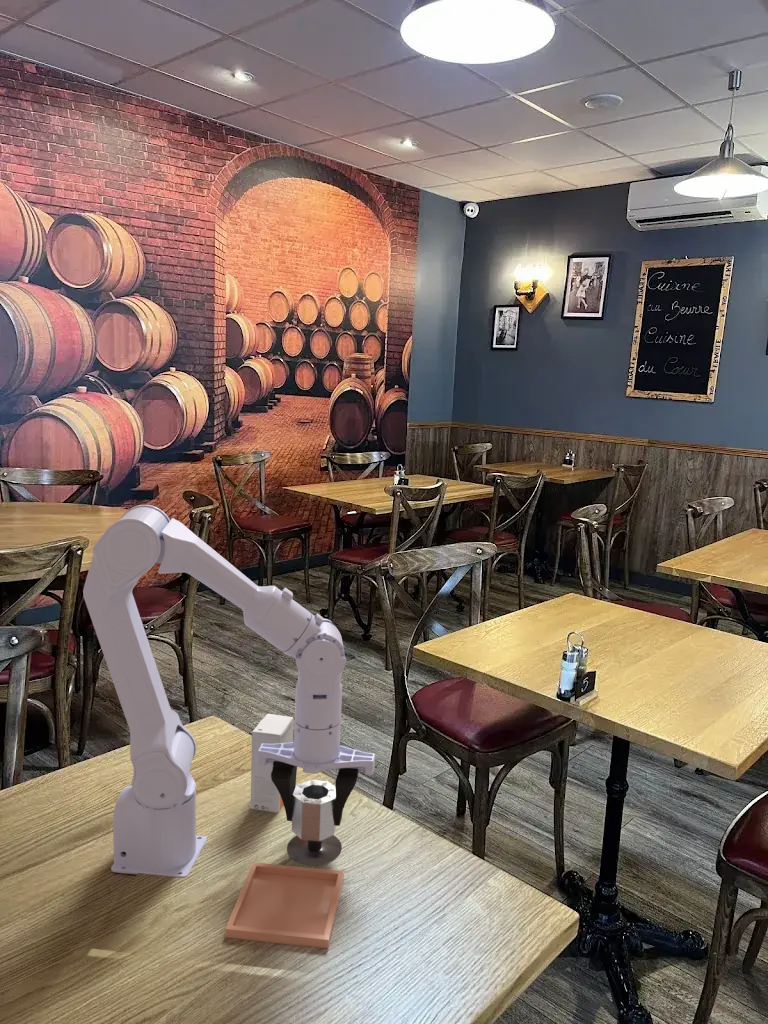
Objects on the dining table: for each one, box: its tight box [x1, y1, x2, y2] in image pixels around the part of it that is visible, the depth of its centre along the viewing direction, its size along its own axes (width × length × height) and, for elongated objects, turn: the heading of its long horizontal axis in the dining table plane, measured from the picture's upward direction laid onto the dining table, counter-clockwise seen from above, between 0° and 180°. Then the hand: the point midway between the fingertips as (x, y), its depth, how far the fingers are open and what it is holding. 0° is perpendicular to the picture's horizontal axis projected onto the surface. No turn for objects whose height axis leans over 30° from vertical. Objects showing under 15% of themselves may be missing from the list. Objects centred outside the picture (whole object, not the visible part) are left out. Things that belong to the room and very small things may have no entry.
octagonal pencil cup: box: [291, 779, 337, 841], centre depth 95 cm, size 5×5×5 cm
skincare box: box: [250, 713, 295, 814], centre depth 105 cm, size 6×4×12 cm
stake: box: [286, 834, 343, 866], centre depth 95 cm, size 7×7×6 cm
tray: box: [224, 861, 345, 950], centre depth 85 cm, size 11×11×2 cm
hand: (314, 818), depth 95 cm, fingers closed on octagonal pencil cup, 5 cm apart
